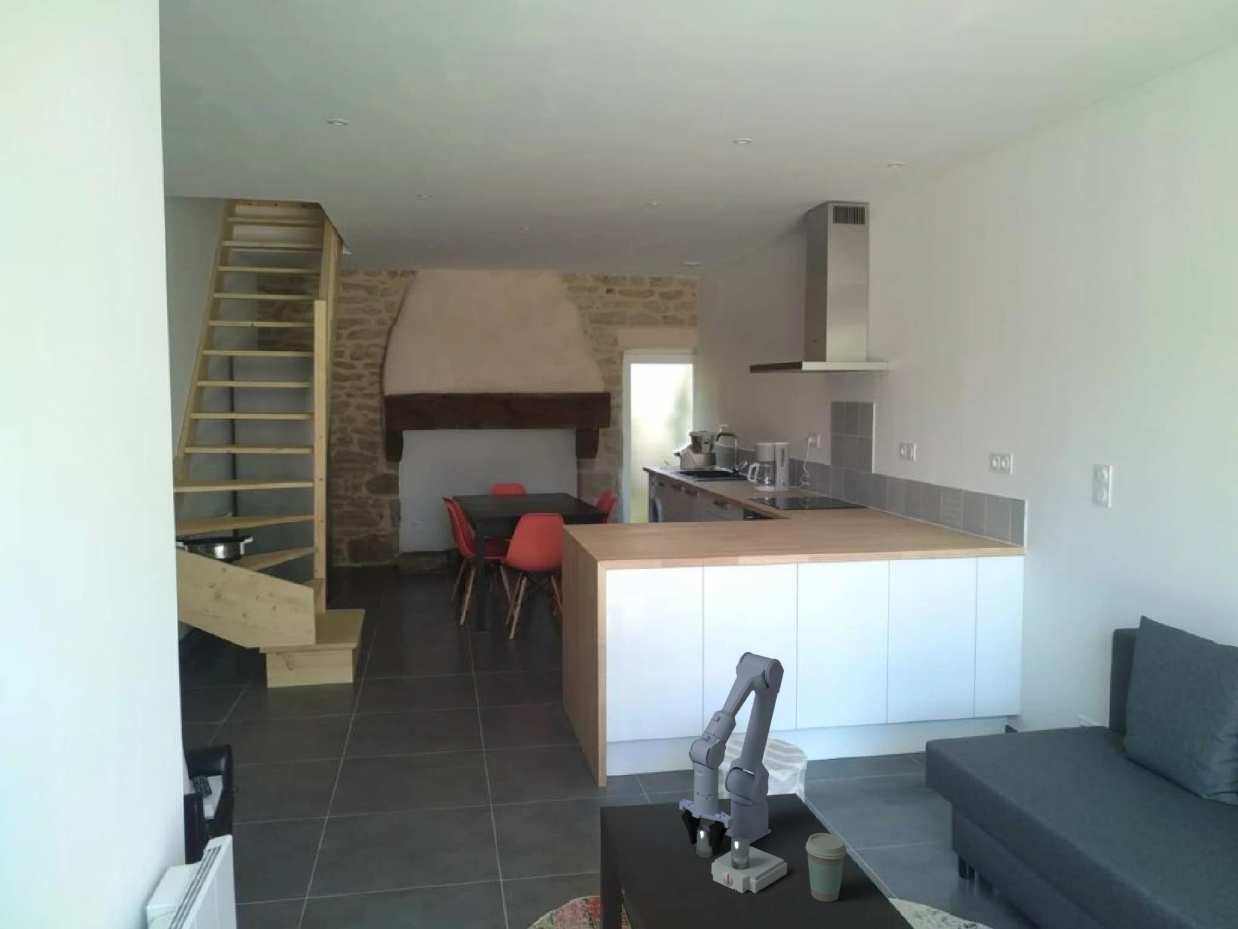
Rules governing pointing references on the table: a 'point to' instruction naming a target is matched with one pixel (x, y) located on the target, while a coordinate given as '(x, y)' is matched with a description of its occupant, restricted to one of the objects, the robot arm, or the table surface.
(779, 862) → the grey flat ridged box
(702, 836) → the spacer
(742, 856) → the cylinder
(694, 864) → the table surface
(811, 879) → the coffee cup
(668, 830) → the table surface
